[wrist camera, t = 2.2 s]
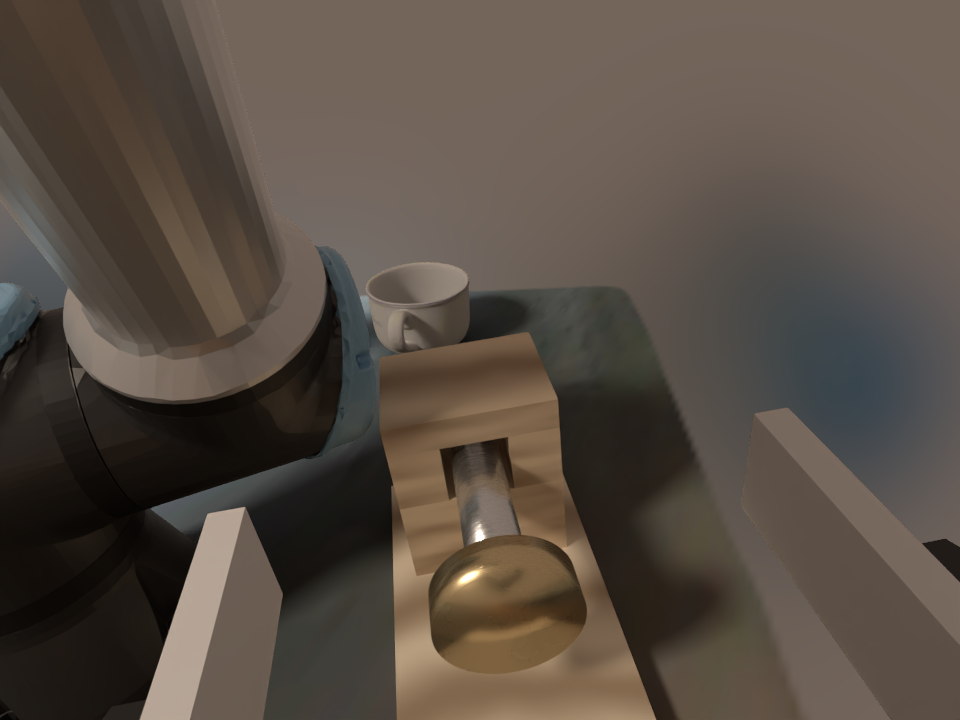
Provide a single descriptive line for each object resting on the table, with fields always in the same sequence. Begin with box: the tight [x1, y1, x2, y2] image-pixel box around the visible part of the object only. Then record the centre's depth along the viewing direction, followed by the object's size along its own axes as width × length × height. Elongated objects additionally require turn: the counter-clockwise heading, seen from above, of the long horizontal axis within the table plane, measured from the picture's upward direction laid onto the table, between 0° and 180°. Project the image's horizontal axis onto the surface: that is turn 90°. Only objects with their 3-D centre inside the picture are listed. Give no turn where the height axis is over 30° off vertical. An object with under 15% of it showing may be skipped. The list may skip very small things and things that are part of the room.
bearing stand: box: [380, 332, 656, 720], centre depth 35 cm, size 24×13×14 cm, turn 8°
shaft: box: [428, 439, 587, 674], centre depth 33 cm, size 12×7×7 cm, turn 8°
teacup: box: [366, 262, 470, 354], centre depth 66 cm, size 14×11×8 cm
